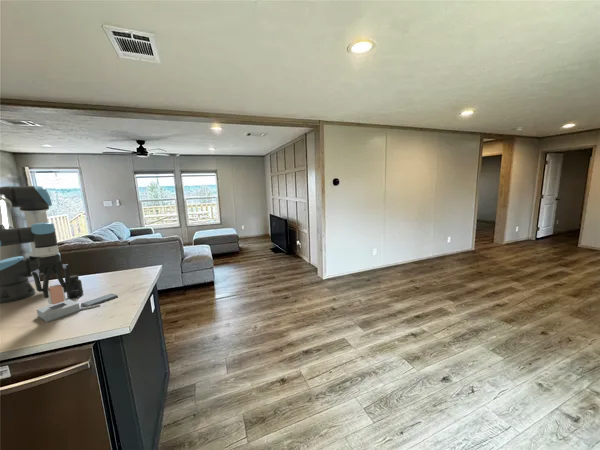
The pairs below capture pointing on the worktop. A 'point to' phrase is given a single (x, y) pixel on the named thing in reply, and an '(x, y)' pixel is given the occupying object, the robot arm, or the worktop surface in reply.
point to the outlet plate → (58, 310)
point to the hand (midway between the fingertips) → (57, 301)
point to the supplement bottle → (74, 287)
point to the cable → (90, 307)
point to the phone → (99, 300)
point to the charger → (56, 293)
